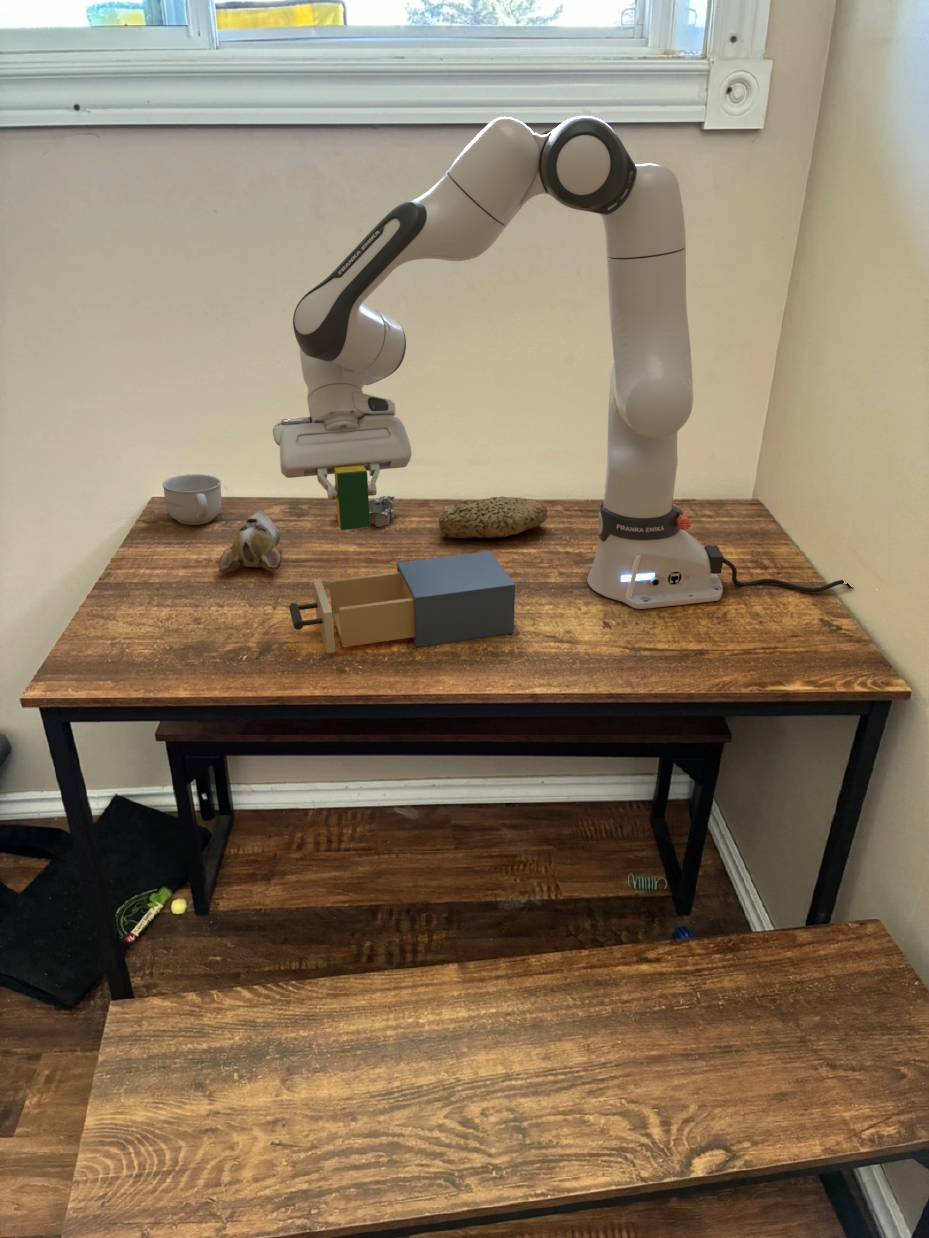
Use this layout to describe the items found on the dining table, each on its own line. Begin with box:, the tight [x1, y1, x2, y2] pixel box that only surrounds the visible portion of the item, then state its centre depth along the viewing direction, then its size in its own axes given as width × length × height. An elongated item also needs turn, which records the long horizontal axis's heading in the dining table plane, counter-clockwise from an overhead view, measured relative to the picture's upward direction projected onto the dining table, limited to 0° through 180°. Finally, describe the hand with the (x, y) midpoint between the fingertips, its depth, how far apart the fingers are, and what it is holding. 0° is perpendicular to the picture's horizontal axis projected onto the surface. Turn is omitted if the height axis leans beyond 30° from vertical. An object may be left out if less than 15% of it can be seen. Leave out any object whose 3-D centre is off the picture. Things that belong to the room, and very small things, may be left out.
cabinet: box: [396, 550, 516, 648], centre depth 137 cm, size 15×12×8 cm
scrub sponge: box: [334, 465, 371, 531], centre depth 135 cm, size 4×3×9 cm
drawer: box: [288, 571, 415, 654], centre depth 133 cm, size 19×11×7 cm, turn 106°
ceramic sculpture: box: [218, 509, 283, 573], centre depth 155 cm, size 11×9×15 cm
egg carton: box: [335, 495, 395, 528], centre depth 174 cm, size 11×8×4 cm
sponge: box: [438, 496, 549, 539], centre depth 167 cm, size 13×8×20 cm
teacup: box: [162, 473, 222, 526], centre depth 171 cm, size 14×11×8 cm
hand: (353, 496), depth 134 cm, fingers closed on scrub sponge, 4 cm apart
